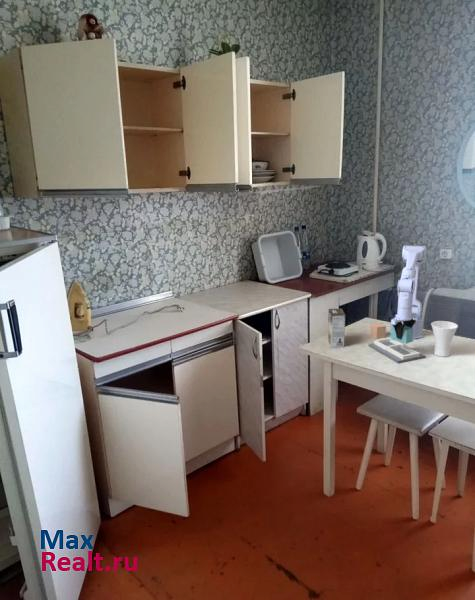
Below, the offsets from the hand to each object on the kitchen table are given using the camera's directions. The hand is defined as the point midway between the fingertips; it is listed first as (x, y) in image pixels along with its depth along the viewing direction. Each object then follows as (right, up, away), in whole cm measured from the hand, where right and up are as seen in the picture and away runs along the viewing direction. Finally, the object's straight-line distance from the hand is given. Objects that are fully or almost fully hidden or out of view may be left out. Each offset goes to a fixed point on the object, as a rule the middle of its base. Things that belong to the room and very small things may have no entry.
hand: (402, 336), depth 200 cm
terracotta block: (-3, -2, +24) cm, 25 cm away
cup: (+17, -8, +2) cm, 19 cm away
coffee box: (-25, -5, +17) cm, 31 cm away
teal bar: (0, -2, +1) cm, 2 cm away
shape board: (-1, -7, +6) cm, 9 cm away
